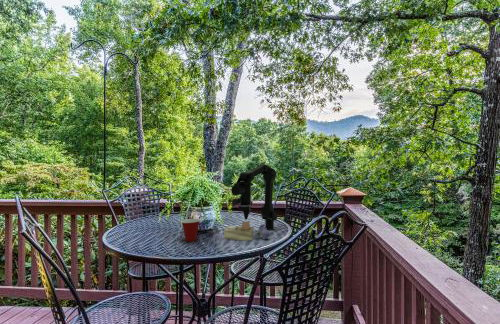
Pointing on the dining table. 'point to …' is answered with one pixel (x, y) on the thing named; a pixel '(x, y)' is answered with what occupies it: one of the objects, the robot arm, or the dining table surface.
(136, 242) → the dining table surface
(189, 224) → the plastic cup
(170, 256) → the dining table surface
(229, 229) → the grey plug
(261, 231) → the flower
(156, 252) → the dining table surface
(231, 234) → the press panel
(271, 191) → the robot arm
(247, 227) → the terracotta plug
